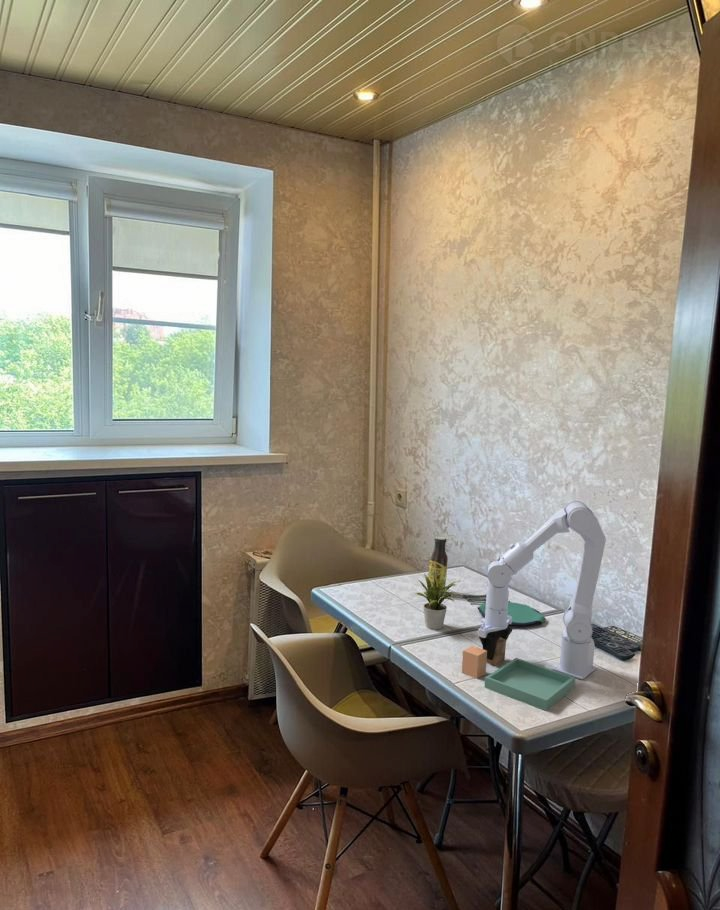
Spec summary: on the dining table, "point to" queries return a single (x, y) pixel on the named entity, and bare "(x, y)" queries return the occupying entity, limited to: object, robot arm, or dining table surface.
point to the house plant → (435, 602)
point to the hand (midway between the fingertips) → (493, 655)
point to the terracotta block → (474, 662)
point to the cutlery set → (513, 611)
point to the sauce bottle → (438, 561)
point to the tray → (530, 683)
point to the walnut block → (498, 653)
